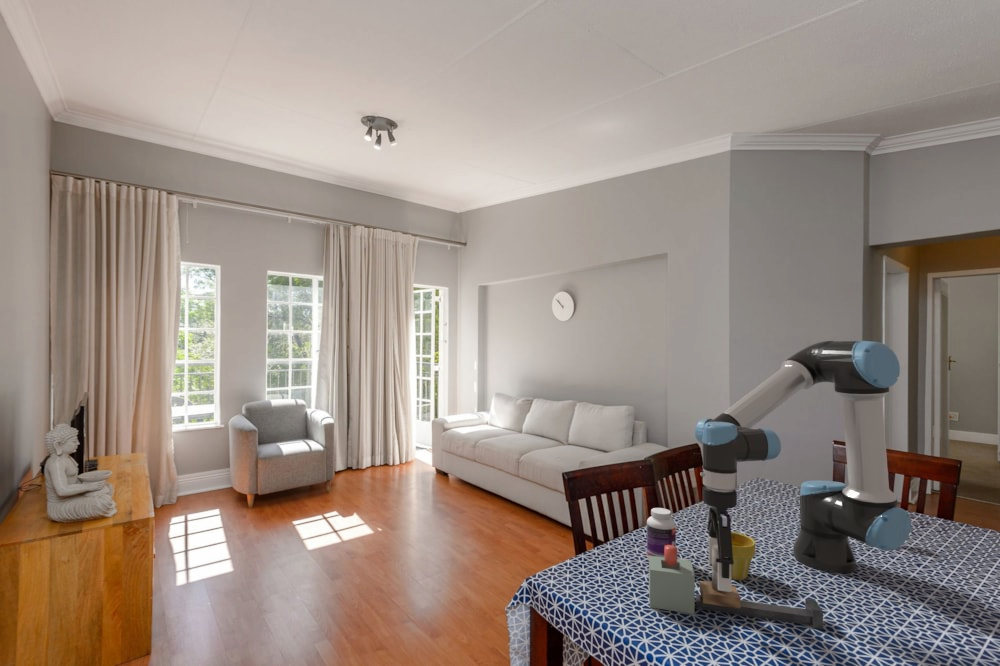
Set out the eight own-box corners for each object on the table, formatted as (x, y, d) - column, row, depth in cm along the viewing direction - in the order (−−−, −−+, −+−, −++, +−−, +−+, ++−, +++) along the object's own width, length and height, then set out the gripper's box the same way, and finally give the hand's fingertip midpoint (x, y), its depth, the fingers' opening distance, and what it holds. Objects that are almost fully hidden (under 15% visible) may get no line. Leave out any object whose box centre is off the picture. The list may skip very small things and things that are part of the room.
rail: (814, 617, 113) (814, 599, 113) (823, 629, 108) (823, 611, 108) (695, 600, 120) (695, 584, 120) (698, 611, 115) (698, 594, 115)
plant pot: (758, 586, 127) (758, 549, 127) (715, 579, 130) (715, 542, 130) (752, 569, 136) (752, 534, 136) (712, 562, 140) (712, 529, 140)
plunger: (676, 561, 120) (676, 545, 120) (677, 567, 117) (677, 550, 117) (664, 560, 121) (664, 544, 121) (664, 565, 118) (664, 549, 118)
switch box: (690, 596, 121) (690, 560, 121) (694, 613, 114) (694, 575, 114) (648, 590, 124) (649, 555, 124) (649, 607, 116) (650, 569, 116)
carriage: (735, 595, 118) (735, 544, 118) (740, 608, 112) (740, 554, 112) (699, 590, 120) (699, 540, 120) (703, 603, 114) (703, 550, 114)
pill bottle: (677, 568, 136) (677, 517, 137) (648, 565, 138) (648, 514, 138) (673, 555, 144) (673, 507, 144) (645, 553, 146) (645, 505, 146)
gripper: (696, 472, 129) (695, 552, 129) (710, 502, 105) (710, 600, 105) (726, 474, 127) (726, 556, 127) (748, 506, 103) (748, 606, 103)
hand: (719, 576), depth 116 cm, fingers open, 13 cm apart
